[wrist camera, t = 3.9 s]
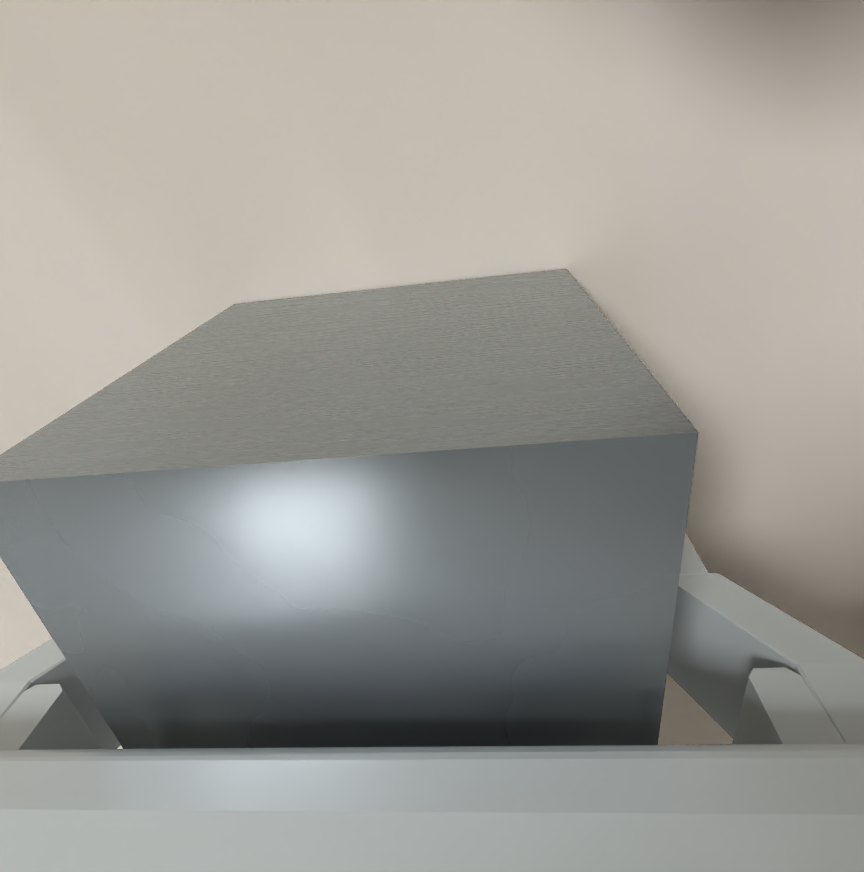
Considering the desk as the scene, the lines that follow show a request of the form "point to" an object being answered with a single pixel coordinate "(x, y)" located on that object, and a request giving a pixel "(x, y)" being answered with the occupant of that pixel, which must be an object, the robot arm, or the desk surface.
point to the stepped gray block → (366, 525)
